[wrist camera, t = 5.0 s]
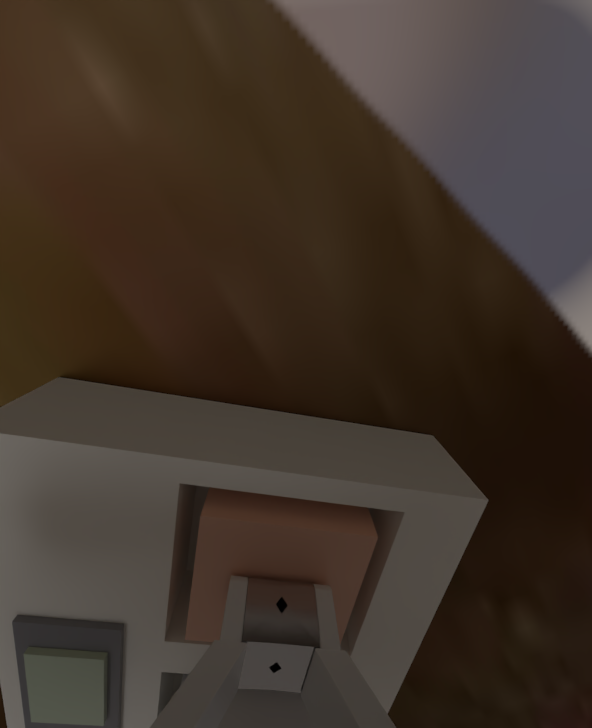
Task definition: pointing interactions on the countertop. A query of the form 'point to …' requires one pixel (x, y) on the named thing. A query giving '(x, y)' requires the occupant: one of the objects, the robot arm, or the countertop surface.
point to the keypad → (191, 539)
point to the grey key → (265, 710)
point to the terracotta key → (276, 551)
